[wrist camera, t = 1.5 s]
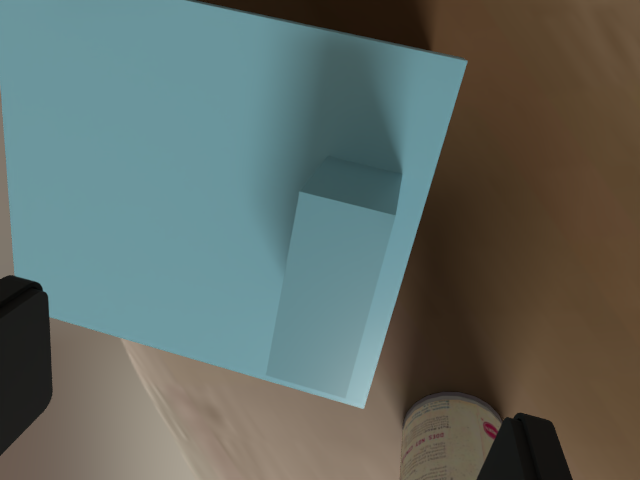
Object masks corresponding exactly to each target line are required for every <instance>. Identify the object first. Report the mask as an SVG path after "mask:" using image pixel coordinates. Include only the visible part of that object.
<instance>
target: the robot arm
mask: <svg viewBox="0 0 640 480" xmlns="http://www.w3.org/2000/svg"><path fill="white" fill-rule="evenodd" d="M51 397H52V371H51V346H50V323H49V300H48V295H47V293H46V292H44V291H43V288H42V286H41V284H40V283H38V282H35V281H32V280H28V279H24V278H20V277H17V276H13V275H12V276H11V275H9V276H6V277H4V278H2V279H0V456H1V454H2V453H3V452H4V451H5V450H6V449H7V448H8V447H9V446H10V445H11V444H12V443H13V442H14V441H15V440H16V439H17V438H18V437H19V436H20V435H21V434H22V433H23V432H24V431H25V430H26V429H27V428H28V427H29V426H30V425H31V424H32V423H33V421H34V420H35V419H36V418H37V417H38V416H39V415H40V414H41V413H42V412H43V411H44V410H45V409H46V408H47V406H48V404H49V402H50V400H51ZM476 480H573V479H572V476H571V474H570V471H569V468H568V465H567V462H566V459H565V456H564V454H563V451H562V448H561V445H560V442H559V439H558V436H557V434H556V431H555V428H554V426H553V424H552V422H551V421H549V420H546V419H542V418H539V417H535V416H531V415H527V414H524V413H517V414H516V415H515V417H514V418H513V419H512V418H508V417H507V418H505V419H504V421H503V422H502V424H501V427H500V429H499V431H498V433H497V435H496V437H495V440H494V442H493V444H492V446H491V448H490V451H489V453H488V455H487V457H486V459H485V461H484V464H483V466H482V468H481V470H480V472H479V475H478V477H477V479H476Z"/></svg>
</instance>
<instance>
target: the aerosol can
mask: <svg viewBox="0 0 640 480" xmlns="http://www.w3.org/2000/svg"><path fill="white" fill-rule="evenodd" d="M501 424H502V420H501V418H500V415H499V414H498V413H497V412H496V411H495V410H494V409H493V408H492V407H491V406H490V405H489V404H488V403H486V402H484V401H482V400H481V399H479V398H477V397H475V396H472V395H468V394H464V393H460V392H440V393H436V394H432V395H428V396H426V397H424V398H423V399H421V400H419V401H417V402H416V403H414V405H413V406H412V407H411V408H410V409H409V411H408V412H407V413H406V416H405V419H404V423H403V432H402V448H401V465H400V480H476V479H477V477H478V475H479V472H480V470H481V468H482V466H483V464H484V461H485V459H486V457H487V455H488V453H489V451H490V448H491V446H492V444H493V442H494V440H495V437H496V435H497V433H498V431H499V429H500V427H501Z"/></svg>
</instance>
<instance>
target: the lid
mask: <svg viewBox="0 0 640 480" xmlns="http://www.w3.org/2000/svg"><path fill="white" fill-rule="evenodd" d="M466 64H467V60H465V59H464V58H461V57H457V56H452V55H447V54H443V53H438V52H433V51H429V50H424V49H420V48H415V47H410V46H406V45H401V44H396V43H392V42H387V41H382V40H378V39H373V38H368V37H364V36H359V35H354V34H350V33H345V32H340V31H336V30H331V29H326V28H322V27H317V26H312V25H308V24H303V23H298V22H294V21H289V20H284V19H280V18H275V17H270V16H266V15H261V14H256V13H252V12H247V11H242V10H238V9H233V8H229V7H224V6H219V5H215V4H210V3H205V2H201V1H196V0H0V86H1V99H2V111H3V112H2V113H3V125H4V139H5V152H6V166H7V180H8V193H9V204H10V205H9V206H10V220H11V232H12V246H13V260H14V272H15V276H17V277H20V278H24V279H28V280H32V281H35V282H38V283H40V284H41V286H42V288H43V291H44V292H46V293H47V295H48V300H49V317H51V318H55V319H58V320H62V321H65V322H69V323H72V324H75V325H79V326H82V327H85V328H89V329H93V330H96V331H99V332H102V333H106V334H109V335H113V336H116V337H120V338H123V339H126V340H130V341H133V342H137V343H140V344H144V345H147V346H150V347H154V348H157V349H161V350H164V351H167V352H171V353H174V354H178V355H181V356H185V357H188V358H191V359H195V360H198V361H202V362H205V363H208V364H212V365H215V366H219V367H222V368H226V369H229V370H232V371H236V372H239V373H243V374H246V375H249V376H253V377H256V378H260V379H263V380H267V381H270V382H273V383H277V384H280V385H284V386H287V387H290V388H294V389H297V390H301V391H304V392H308V393H311V394H314V395H318V396H321V397H325V398H328V399H332V400H335V401H338V402H342V403H345V404H349V405H352V406H355V407H359V408H362V409H364V406H365V403H366V400H367V396H368V393H369V390H370V386H371V383H372V380H373V376H374V373H375V369H376V366H377V363H378V359H379V356H380V353H381V349H382V346H383V343H384V339H385V336H386V333H387V329H388V326H389V323H390V319H391V316H392V313H393V309H394V306H395V302H396V299H397V296H398V292H399V289H400V286H401V282H402V279H403V276H404V272H405V269H406V266H407V262H408V259H409V256H410V252H411V249H412V245H413V242H414V239H415V235H416V232H417V229H418V225H419V222H420V219H421V215H422V212H423V209H424V205H425V202H426V199H427V195H428V192H429V188H430V185H431V182H432V178H433V175H434V172H435V168H436V165H437V162H438V158H439V155H440V152H441V148H442V145H443V142H444V138H445V135H446V132H447V128H448V125H449V121H450V118H451V115H452V111H453V108H454V105H455V101H456V98H457V95H458V91H459V88H460V85H461V81H462V78H463V75H464V71H465V68H466Z"/></svg>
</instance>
